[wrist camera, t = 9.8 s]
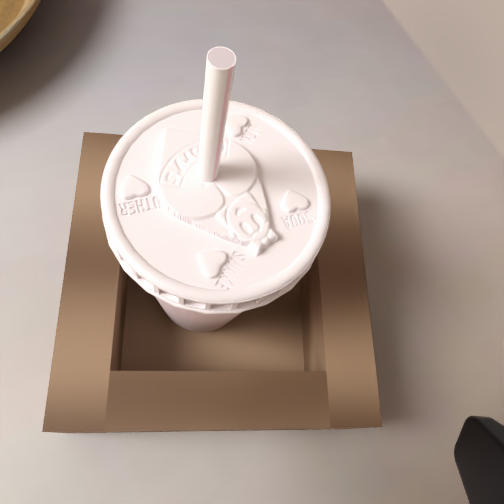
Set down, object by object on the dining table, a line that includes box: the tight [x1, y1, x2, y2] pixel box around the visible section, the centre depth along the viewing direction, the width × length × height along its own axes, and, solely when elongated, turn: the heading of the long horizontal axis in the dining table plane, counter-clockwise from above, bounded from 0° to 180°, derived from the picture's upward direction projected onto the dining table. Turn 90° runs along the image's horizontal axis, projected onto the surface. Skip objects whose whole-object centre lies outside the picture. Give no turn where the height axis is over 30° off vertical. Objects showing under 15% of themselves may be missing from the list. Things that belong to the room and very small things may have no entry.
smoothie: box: [100, 47, 331, 332], centre depth 15 cm, size 6×6×14 cm
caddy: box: [42, 132, 382, 433], centre depth 21 cm, size 12×12×4 cm
